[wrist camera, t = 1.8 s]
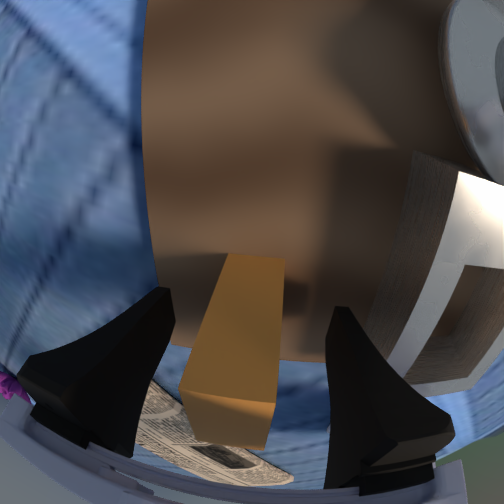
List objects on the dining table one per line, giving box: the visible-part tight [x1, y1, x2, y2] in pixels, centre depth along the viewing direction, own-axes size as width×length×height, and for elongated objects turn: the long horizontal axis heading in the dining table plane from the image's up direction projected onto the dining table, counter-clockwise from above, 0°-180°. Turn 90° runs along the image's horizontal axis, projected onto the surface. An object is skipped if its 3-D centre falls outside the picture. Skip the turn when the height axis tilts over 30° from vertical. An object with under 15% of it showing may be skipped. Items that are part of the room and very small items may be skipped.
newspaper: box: [135, 380, 294, 486], centre depth 29 cm, size 37×19×3 cm, turn 28°
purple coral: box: [0, 371, 31, 404], centre depth 33 cm, size 11×15×10 cm
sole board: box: [141, 0, 484, 363], centre depth 11 cm, size 21×22×2 cm
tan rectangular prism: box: [178, 253, 285, 450], centre depth 10 cm, size 4×2×7 cm, turn 178°
